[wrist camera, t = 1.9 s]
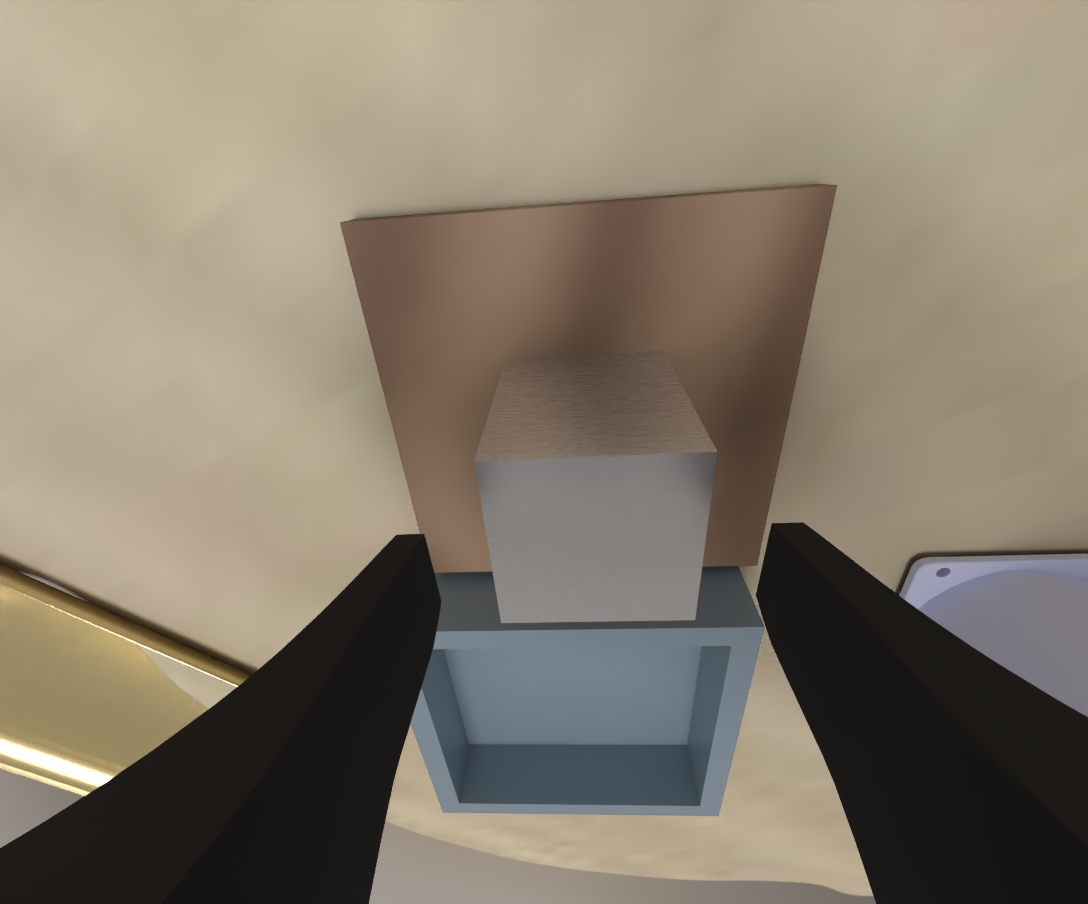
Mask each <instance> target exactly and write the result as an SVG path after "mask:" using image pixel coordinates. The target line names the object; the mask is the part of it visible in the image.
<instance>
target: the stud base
mask: <svg viewBox="0 0 1088 904" xmlns="http://www.w3.org/2000/svg"><path fill="white" fill-rule="evenodd" d="M836 188H837V185H824V184H815V185H802V186H789V187H776V188H762V189H749V190H736V191H723V192H709V193H696V194H683V195H670V196H656V197H643V198H630V199H617V200H603V201H590V202H577V203H564V204H550V205H537V206H524V207H511V208H497V209H484V210H471V211H458V212H444V213H431V214H418V215H405V216H391V217H378V218H365V219H353V220H349V221H345V222H341V223H340V225H341V229H342V233H343V237H344V240H345V244H346V248H347V252H348V256H349V260H350V264H351V268H352V271H353V275H354V279H355V283H356V287H357V291H358V295H359V298H360V302H361V306H362V310H363V314H364V318H365V322H366V326H367V329H368V333H369V337H370V341H371V345H372V349H373V353H374V356H375V360H376V364H377V368H378V372H379V376H380V380H381V384H382V387H383V391H384V395H385V399H386V403H387V407H388V411H389V414H390V418H391V422H392V426H393V430H394V434H395V438H396V442H397V445H398V449H399V453H400V457H401V461H402V465H403V469H404V472H405V476H406V480H407V484H408V488H409V492H410V496H411V500H412V503H413V507H414V511H415V515H416V519H417V523H418V527H419V530H420V534H425V538H426V542H427V546H428V550H429V554H430V558H431V562H432V566H433V570H434V573H445V572H489V571H492V566H491V560H490V554H489V548H488V542H487V536H486V530H485V524H484V518H483V512H482V506H481V501H480V495H479V489H478V483H477V477H476V471H475V465H474V459H475V456H476V453H477V450H478V446H479V443H480V440H481V437H482V434H483V431H484V427H485V424H486V421H487V418H488V415H489V412H490V408H491V405H492V402H493V399H494V396H495V392H496V389H497V386H498V383H499V380H500V377H501V373H502V370H503V367H504V364H505V361H506V359H519V358H538V357H557V356H575V355H594V354H613V353H631V352H650V351H664V353H665V355H666V357H667V358H668V360H669V362H670V364H671V366H672V368H673V370H674V372H675V373H676V375H677V377H678V379H679V381H680V383H681V385H682V386H683V388H684V390H685V392H686V394H687V396H688V398H689V400H690V401H691V403H692V405H693V407H694V409H695V411H696V413H697V414H698V416H699V418H700V420H701V422H702V424H703V426H704V428H705V429H706V431H707V433H708V435H709V437H710V439H711V441H712V442H713V444H714V446H715V448H716V450H717V459H716V467H715V474H714V482H713V489H712V497H711V504H710V512H709V519H708V527H707V534H706V542H705V549H704V557H703V565H702V567H711V566H755V565H757V562H758V558H759V553H760V548H761V543H762V539H763V534H764V529H765V524H766V520H767V515H768V510H769V505H770V501H771V496H772V491H773V486H774V482H775V477H776V472H777V467H778V463H779V458H780V453H781V449H782V444H783V439H784V434H785V430H786V425H787V420H788V415H789V411H790V406H791V401H792V396H793V392H794V387H795V382H796V377H797V373H798V368H799V363H800V358H801V354H802V349H803V344H804V339H805V335H806V330H807V325H808V320H809V316H810V311H811V306H812V301H813V297H814V292H815V287H816V283H817V278H818V273H819V268H820V264H821V259H822V254H823V249H824V245H825V240H826V235H827V230H828V226H829V221H830V216H831V211H832V207H833V202H834V197H835V192H836Z"/></svg>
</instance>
